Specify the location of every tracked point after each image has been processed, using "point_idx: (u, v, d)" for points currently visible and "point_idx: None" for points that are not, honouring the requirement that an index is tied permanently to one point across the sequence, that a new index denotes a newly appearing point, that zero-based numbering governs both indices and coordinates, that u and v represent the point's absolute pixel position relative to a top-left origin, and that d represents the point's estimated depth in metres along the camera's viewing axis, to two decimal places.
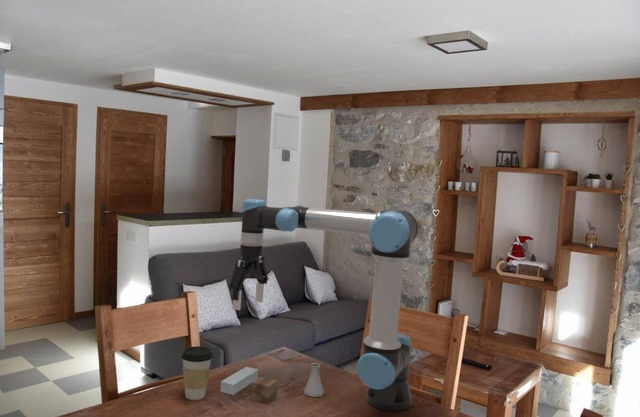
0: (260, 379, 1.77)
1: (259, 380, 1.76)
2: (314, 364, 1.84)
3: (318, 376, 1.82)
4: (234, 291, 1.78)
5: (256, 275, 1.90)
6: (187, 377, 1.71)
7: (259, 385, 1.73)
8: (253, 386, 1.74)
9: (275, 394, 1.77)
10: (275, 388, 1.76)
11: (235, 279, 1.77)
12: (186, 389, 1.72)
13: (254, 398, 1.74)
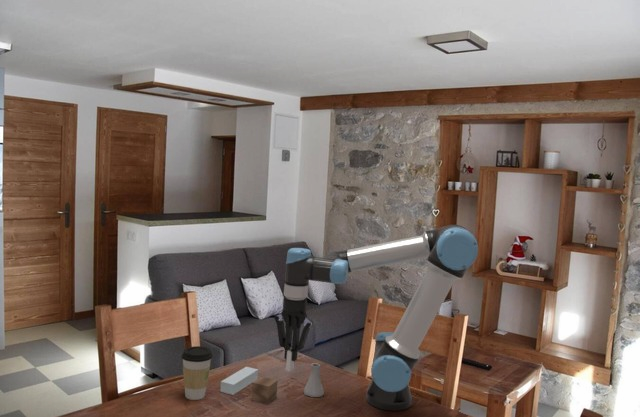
0: (260, 379, 1.77)
1: (259, 380, 1.76)
2: (314, 364, 1.84)
3: (318, 376, 1.82)
4: None
5: None
6: (187, 377, 1.71)
7: (259, 385, 1.73)
8: (253, 386, 1.74)
9: (275, 394, 1.77)
10: (275, 388, 1.76)
11: None
12: (186, 389, 1.72)
13: (254, 398, 1.74)
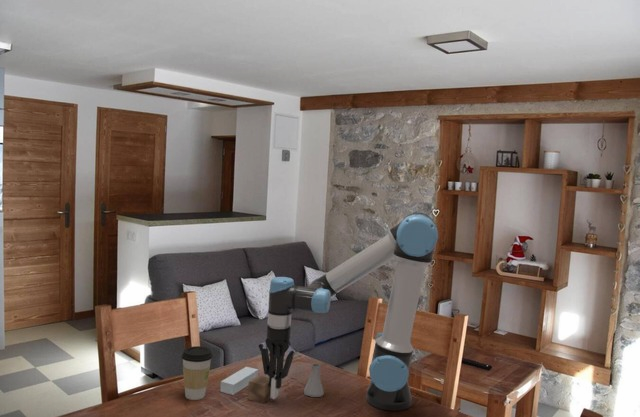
0: (256, 378, 1.77)
1: (255, 379, 1.76)
2: (314, 364, 1.84)
3: (318, 376, 1.82)
4: None
5: None
6: (187, 377, 1.71)
7: (255, 384, 1.73)
8: (249, 385, 1.74)
9: None
10: None
11: None
12: (186, 389, 1.72)
13: (250, 397, 1.74)
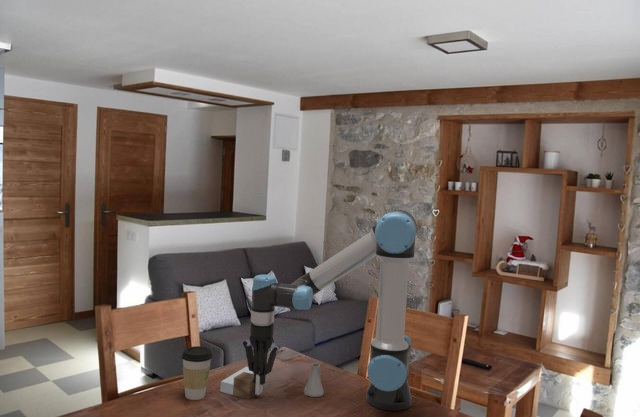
0: (242, 374, 1.80)
1: (241, 375, 1.79)
2: (314, 364, 1.84)
3: (318, 376, 1.82)
4: None
5: None
6: (187, 377, 1.71)
7: (240, 380, 1.76)
8: (235, 381, 1.77)
9: None
10: None
11: None
12: (186, 389, 1.72)
13: (236, 393, 1.77)
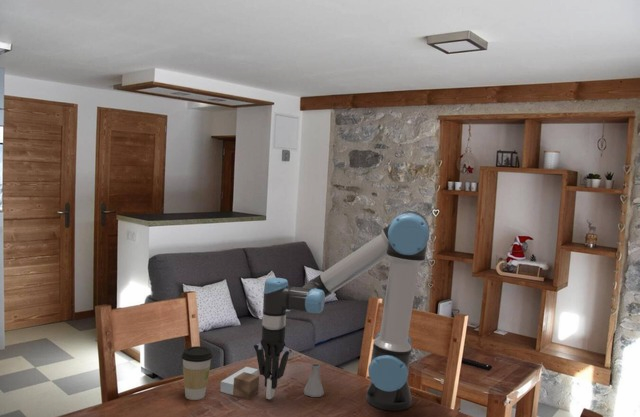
0: (242, 375, 1.80)
1: (241, 375, 1.79)
2: (314, 364, 1.84)
3: (318, 376, 1.82)
4: None
5: None
6: (187, 377, 1.71)
7: (240, 380, 1.76)
8: (235, 381, 1.77)
9: (256, 389, 1.79)
10: (256, 383, 1.79)
11: None
12: (186, 389, 1.72)
13: (236, 393, 1.77)
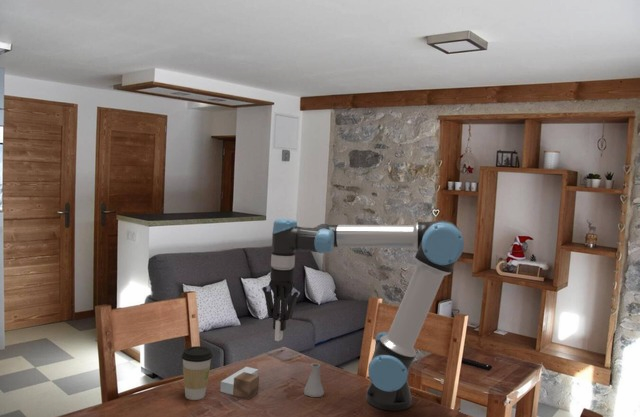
0: (242, 374, 1.80)
1: (241, 375, 1.79)
2: (314, 364, 1.84)
3: (318, 376, 1.82)
4: None
5: None
6: (187, 377, 1.71)
7: (240, 380, 1.76)
8: (235, 381, 1.77)
9: (256, 389, 1.79)
10: (256, 383, 1.79)
11: None
12: (186, 389, 1.72)
13: (236, 393, 1.77)
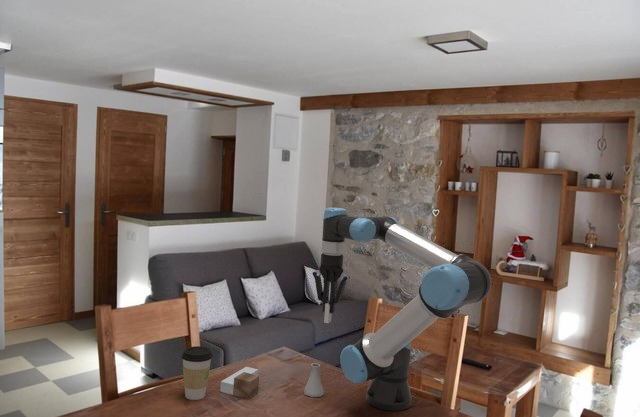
0: (242, 374, 1.80)
1: (241, 375, 1.79)
2: (314, 364, 1.84)
3: (318, 376, 1.82)
4: None
5: None
6: (187, 377, 1.71)
7: (240, 380, 1.76)
8: (235, 381, 1.77)
9: (256, 389, 1.79)
10: (256, 383, 1.79)
11: None
12: (186, 389, 1.72)
13: (236, 393, 1.77)
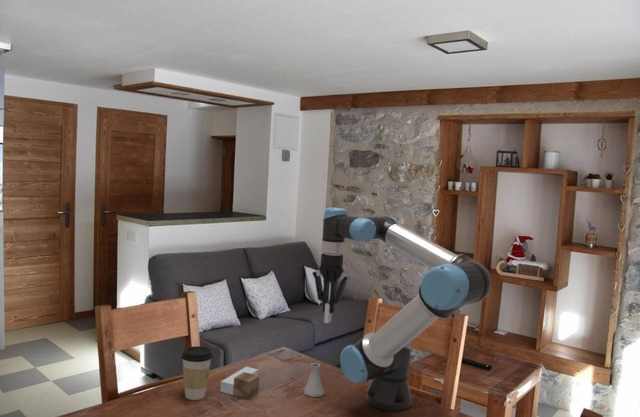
0: (242, 374, 1.80)
1: (241, 375, 1.79)
2: (314, 364, 1.84)
3: (318, 376, 1.82)
4: None
5: None
6: (187, 377, 1.71)
7: (240, 380, 1.76)
8: (235, 381, 1.77)
9: (256, 389, 1.79)
10: (256, 383, 1.79)
11: None
12: (186, 389, 1.72)
13: (236, 393, 1.77)
